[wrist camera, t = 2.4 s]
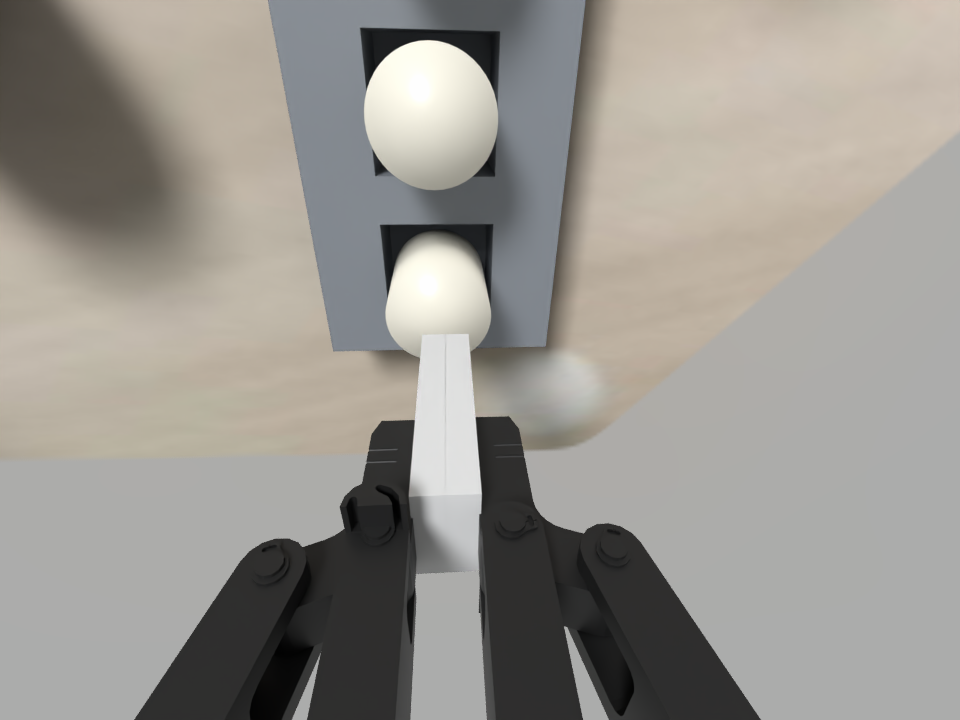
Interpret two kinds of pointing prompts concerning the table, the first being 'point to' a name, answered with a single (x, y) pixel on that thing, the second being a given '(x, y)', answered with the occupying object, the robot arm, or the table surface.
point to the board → (409, 210)
